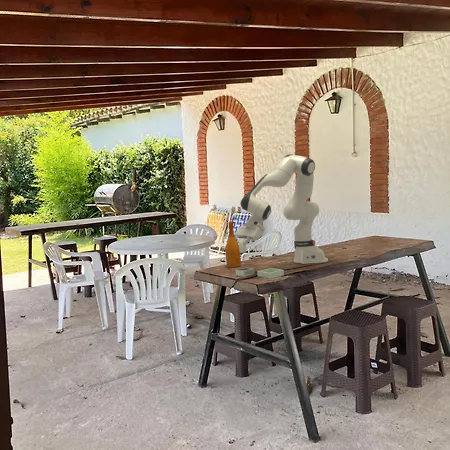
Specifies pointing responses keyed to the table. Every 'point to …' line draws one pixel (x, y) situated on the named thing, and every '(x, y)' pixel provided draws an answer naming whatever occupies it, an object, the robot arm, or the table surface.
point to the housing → (245, 272)
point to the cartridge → (242, 246)
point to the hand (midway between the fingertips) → (241, 243)
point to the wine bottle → (232, 249)
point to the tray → (270, 273)
